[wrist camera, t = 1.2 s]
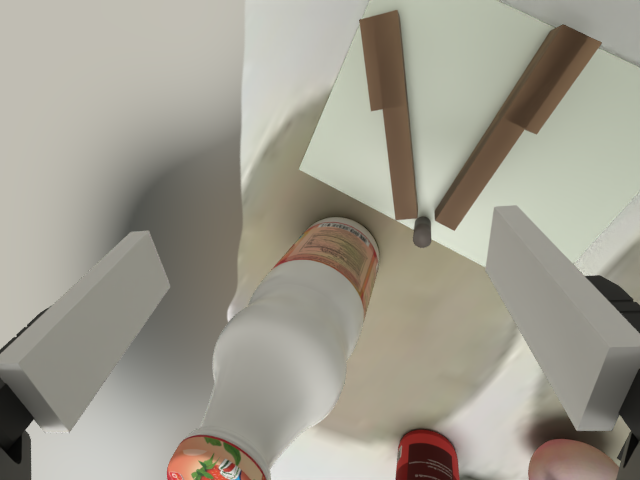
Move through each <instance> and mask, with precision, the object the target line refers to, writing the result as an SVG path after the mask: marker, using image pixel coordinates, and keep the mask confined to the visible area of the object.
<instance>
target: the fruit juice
mask: <svg viewBox="0 0 640 480" xmlns="http://www.w3.org/2000/svg"><path fill="white" fill-rule="evenodd" d="M378 268H379V250H378V247H377V244H376V242H375V240H374V238H373V237H372V235H371V234H370V233H369V231H368V230H367V229H366V228H364V227H363V226H362V225H360V224H359V223H357V222H355V221H353V220H350V219H347V218H342V217H331V218H326V219H322V220H320V221H318V222H316V223H314V224H313V225H311V226H310V227H309V228H308V229H307V230H306V231H305V232H304V233H303V234H302V236H301V237H300V238H299V239H298V240H297V241H296V242H295V244H294V245H293V246H292V247H291V248H290V249H289V250H288V252H287V253H286V254H285V255H284V256H283V257H282V258H281V260H280V261H279V262H278V263H277V264H276V265H275V267H274V268H273V269H272V270H271V271H270V272H269V273H268V274H267V275H266V276H265V278H264V279H263V280H262V281H261V283H260V284H259V286H258V287H257V289H256V290H255V292H254V293H253V295H252V297H251V299H250V302H249V305H248V306H247V307H245V308H244V309H242V310H241V311H240V312H238V313H237V314H236V315H235V316H234V317H233V318H232V319H231V320H230V321H229V322H228V324H227V325H226V327H225V328H224V329H223V331H222V332H221V334H220V336H219V338H218V340H217V343H216V346H215V349H214V354H213V376H214V382H215V383H214V387H213V391H212V395H211V398H210V401H209V404H208V407H207V410H206V412H205V415H204V418H203V420H202V423H201V425H200V427H199V428H198V429H196V430H194V431H192V432H191V433H189V434H188V435H187V436H186V438H185V439H184V440H183V441H182V442H181V443H180V445H179V446H178V448H177V449H176V451H175V453H174V454H173V456H172V458H171V460H170V462H169V465H168V468H167V479H168V480H271V473H270V469H271V467H272V466H273V465H274V463H275V462H276V461H277V459H278V458H279V457H280V456H281V454H282V453H283V452H284V451H285V450H286V449H287V448H288V446H289V445H290V444H291V443H292V442H293V441H294V440H295V439H296V438H297V437H298V436H299V435H300V434H301V433H303V432H304V431H306V430H307V429H309V428H311V427H312V426H314V425H316V424H317V423H319V422H320V421H322V420H323V419H324V418H325V417H326V416H327V415H328V414H329V413H330V412H331V411H332V409H333V408H334V406H335V405H336V403H337V401H338V399H339V397H340V395H341V392H342V389H343V387H344V384H345V379H346V361H347V360H348V358H349V357H350V356H351V354H352V352H353V351H354V349H355V347H356V344H357V342H358V339H359V337H360V334H361V331H362V327H363V323H364V319H365V315H366V312H367V308H368V305H369V301H370V297H371V294H372V290H373V287H374V283H375V279H376V276H377V272H378Z"/></svg>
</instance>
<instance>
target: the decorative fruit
mask: <svg viewBox="0 0 640 480" xmlns="http://www.w3.org/2000/svg"><path fill="white" fill-rule="evenodd" d="M618 471H619V467H618V466H617V464H616V463H615V462H614V461H613V460H612V459H611V458H610V457H608V456H607V455H606V454H605V453H603V452H602V451H600V450H598V449H597V448H595V447H593V446H591V445H589V444H586V443H583V442H580V441H575V440H569V439H554V440H550V441H547V442H545V443H544V444H542V445H541V446H540V447H539V448H538V449H537V450H536V451H535V452H534V454H533V455H532V457H531V460H530V463H529V470H528V476H529V480H616V478H617V474H618Z"/></svg>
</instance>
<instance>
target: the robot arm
mask: <svg viewBox="0 0 640 480" xmlns="http://www.w3.org/2000/svg"><path fill="white" fill-rule="evenodd" d="M485 271H486V272H487V274H488V276H489V278H490V279H491V281H492V283H493V285H494V286H495V288H496V290H497V292H498V294H499V295H500V297H501V299H502V301H503V302H504V304H505V306H506V308H507V309H508V311H509V313H510V315H511V316H512V318H513V320H514V322H515V323H516V325H517V327H518V329H519V330H520V332H521V334H522V336H523V337H524V339H525V341H526V343H527V344H528V346H529V348H530V350H531V351H532V353H533V355H534V357H535V358H536V360H537V362H538V364H539V366H540V367H541V369H542V371H543V373H544V374H545V376H546V378H547V380H548V381H549V383H550V385H551V387H552V388H553V390H554V392H555V394H556V395H557V397H558V399H559V401H560V402H561V404H562V406H563V408H564V409H565V411H566V413H567V415H568V416H569V418H570V420H571V422H572V423H573V425H574V427H575V429H576V430H577V431H612V429H613V427H614V425H615V423H616V421H617V419H618V417H619V415H621V417H622V418H623V420H624V421H625V423H626V424H627V425H628V427H629V428H630V430H631V432H630V434H629V436H628V438H627V440H626V442H625V444H624V446H623V447H622V449H621V451H620V453H619V455H618V457H617V459H619V460H621V463H620V467H619V471H618V474H617V478H616V480H640V305H639V304H638V303H637V302H633V299H632V298H631V297H630V296H629V295H628V294H627V293H626V292H625V291H624V290H623V289H622V288H621V287H620V286H618V285H616V284H614V283H613V282H611V281H609V280H607V279H605V278H603V277H602V276H600V275H597V276H584V275H583V274H582V273H581V272H580V271H579V270H578V269H577V268H576V267H575V266H574V264H573V263H572V262H571V261H570V260H569V259H568V258H567V257H566V256H565V255H564V254H563V253H562V252H561V251H560V250H559V249H558V248H557V247H556V246H555V245H554V244H553V243H552V242H551V240H550V239H549V238H548V237H547V236H546V235H545V234H544V233H543V232H542V231H541V230H540V229H539V228H538V227H537V226H536V225H535V224H534V223H533V222H532V221H531V220H530V219H529V218H528V216H527V215H526V214H525V213H524V212H523V211H522V210H521V209H520V208H519V207H518V206H517V205H512V206H497V207H494V211H493V218H492V225H491V232H490V239H489V247H488V254H487V261H486V268H485ZM169 288H170V284H169V281H168V279H167V276H166V274H165V271H164V268H163V266H162V263H161V261H160V258H159V255H158V253H157V250H156V248H155V245H154V243H153V241H152V238H151V235H150V232H149V231H138V232H130V233H129V234H128V235H127V236H126V237H125V238H124V239H123V240H122V241H121V242H120V243H119V244H117V245H116V246H115V248H113V249H112V250H111V251H110V252H109V253H108V254H107V255H106V256H105V257H104V258H102V259H101V260H100V261H99V262H98V263H97V264H96V265H95V266H94V267H93V268H92V269H91V270H90V271H89V272H88V273H86V275H84V276H83V277H82V278H81V279H80V280H79V281H78V282H77V283H76V284H75V285H74V286H73V287H71V288H70V289H69V290H68V291H67V292H66V293H65V294H64V295H63V296H62V297H61V298H60V299H59V300H58V301H56V302H55V304H53V305H52V306H50V307H49V308H47V309H46V310H44V311H42V312H41V313H40V314H38V315H37V316H36V317H35V318H34V319H33V320H32V321H31V322H30V323H29V324H28V325H27V327H24V328H23V329H22V330H21V331H20V332H19V333H18V334H17V337H14V338H12V340H10V341H9V342H8V343H7V344H6V345H5V346H4V347H3V348H2V349H1V350H0V480H31V439H30V436H29V434H28V433H27V432H26V431H25V429H26V428H27V427H28V426H29V425H30V423H31V422H32V421H33V420H35V421H36V423H37V424H38V425H39V426H40V428H41V429H42V430H43V431H44V432H45V433H61V432H62V433H64V432H65V433H67V432H68V433H70V431H71V430H72V428H73V427H74V425H75V424H76V423H77V421H78V420H79V418H80V417H81V415H82V414H83V412H84V411H85V410H86V408H87V407H88V405H89V404H90V402H91V401H92V399H93V398H94V396H95V395H96V394H97V392H98V391H99V389H100V388H101V386H102V385H103V383H104V382H105V380H106V379H107V377H108V376H109V375H110V373H111V372H112V370H113V369H114V367H115V366H116V365H117V363H118V362H119V360H120V359H121V357H122V356H123V354H124V353H125V351H126V350H127V348H128V347H129V346H130V344H131V343H132V341H133V340H134V338H135V337H136V335H137V334H138V333H139V331H140V330H141V328H142V327H143V325H144V324H145V323H146V321H147V320H148V318H149V317H150V315H151V314H152V312H153V311H154V309H155V308H156V307H157V305H158V303H159V302H160V301H161V299H162V298H163V296H164V295H165V294H166V292H167V291H168V289H169Z"/></svg>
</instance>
